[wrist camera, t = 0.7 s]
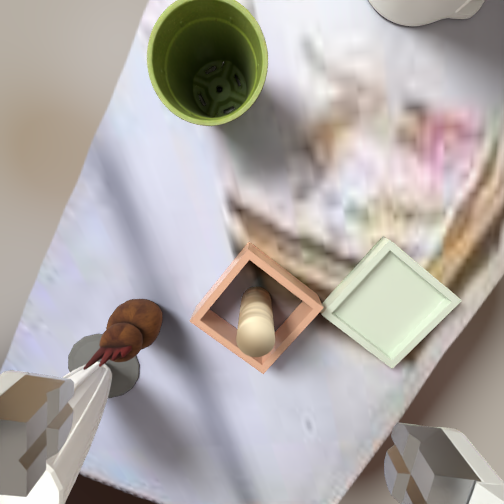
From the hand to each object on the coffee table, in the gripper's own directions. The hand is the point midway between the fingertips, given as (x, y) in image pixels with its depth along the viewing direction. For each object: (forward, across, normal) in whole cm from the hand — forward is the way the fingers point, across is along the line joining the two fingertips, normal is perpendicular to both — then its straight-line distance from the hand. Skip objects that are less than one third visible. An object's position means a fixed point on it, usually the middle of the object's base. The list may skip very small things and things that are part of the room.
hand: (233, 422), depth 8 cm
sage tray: (+40, -22, +9) cm, 46 cm away
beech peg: (+40, -3, +12) cm, 42 cm away
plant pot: (+40, +6, -17) cm, 44 cm away
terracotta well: (+40, -3, +12) cm, 42 cm away
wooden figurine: (+40, +14, +16) cm, 46 cm away
